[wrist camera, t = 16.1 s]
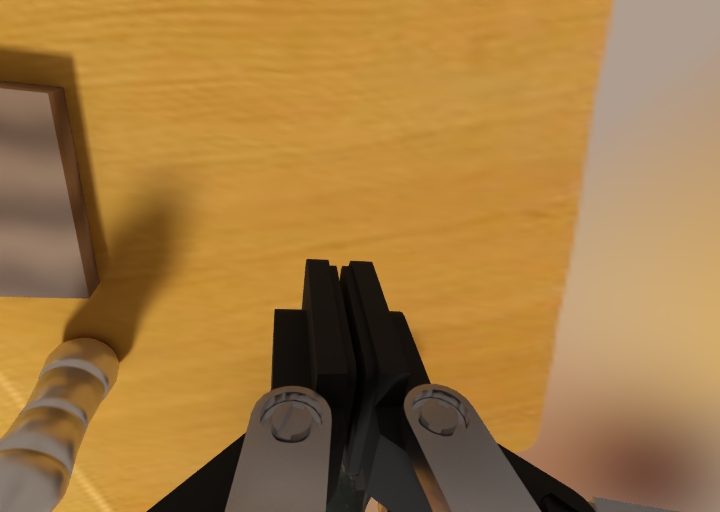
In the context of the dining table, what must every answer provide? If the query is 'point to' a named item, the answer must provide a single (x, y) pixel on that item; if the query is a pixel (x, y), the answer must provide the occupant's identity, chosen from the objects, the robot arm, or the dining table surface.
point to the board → (41, 198)
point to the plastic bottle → (54, 425)
